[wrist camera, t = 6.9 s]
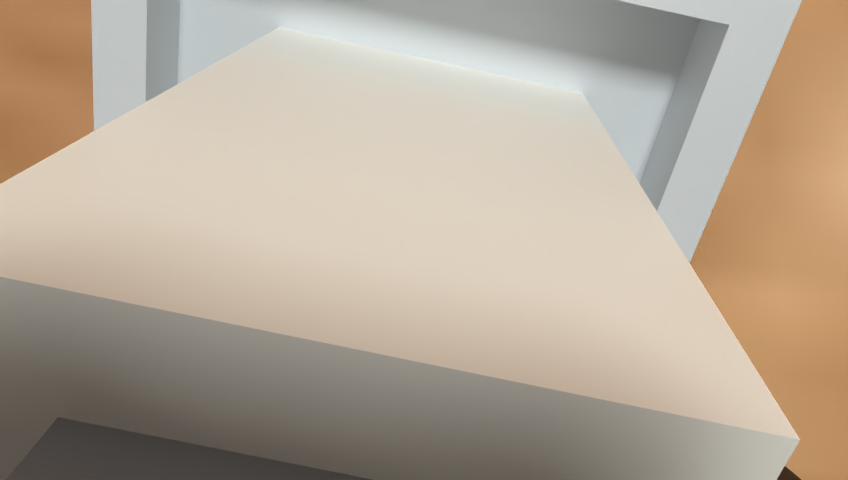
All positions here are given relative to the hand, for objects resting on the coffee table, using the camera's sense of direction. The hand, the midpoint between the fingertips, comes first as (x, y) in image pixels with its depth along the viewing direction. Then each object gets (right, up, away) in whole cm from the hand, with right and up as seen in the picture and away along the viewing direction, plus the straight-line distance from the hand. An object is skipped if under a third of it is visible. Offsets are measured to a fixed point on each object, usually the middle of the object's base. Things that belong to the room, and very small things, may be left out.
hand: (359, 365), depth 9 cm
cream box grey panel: (0, +2, +3) cm, 4 cm away
